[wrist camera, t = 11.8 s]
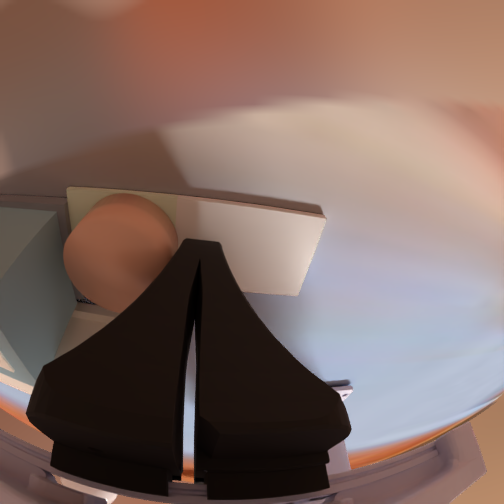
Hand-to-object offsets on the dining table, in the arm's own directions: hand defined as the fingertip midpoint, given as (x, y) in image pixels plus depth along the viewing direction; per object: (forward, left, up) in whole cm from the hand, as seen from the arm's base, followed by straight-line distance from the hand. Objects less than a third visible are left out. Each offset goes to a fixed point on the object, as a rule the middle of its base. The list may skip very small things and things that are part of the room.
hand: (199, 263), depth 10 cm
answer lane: (0, +1, -1) cm, 2 cm away
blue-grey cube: (-1, +8, -1) cm, 9 cm away
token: (0, +3, -1) cm, 3 cm away
